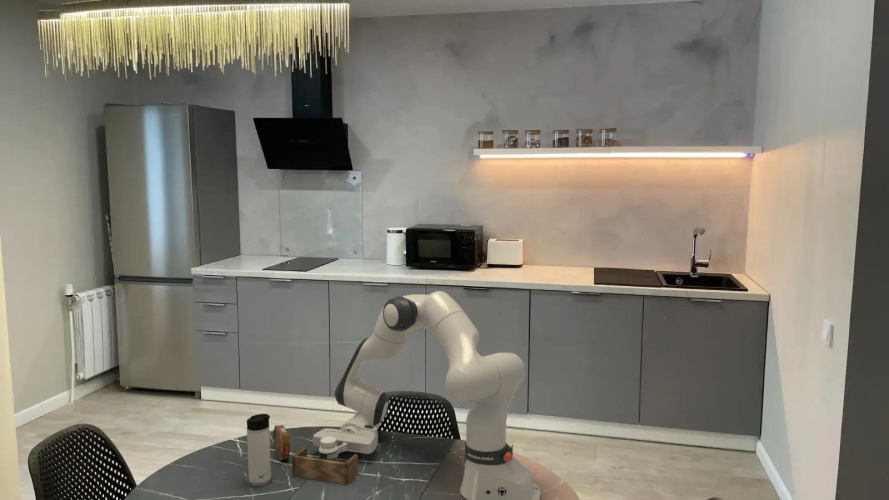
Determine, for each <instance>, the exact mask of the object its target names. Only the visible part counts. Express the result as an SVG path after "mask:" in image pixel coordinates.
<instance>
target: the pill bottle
mask: <svg viewBox="0 0 889 500" xmlns="http://www.w3.org/2000/svg"><path fill="white" fill-rule="evenodd" d="M320 444H321V446H320V447H318V459H323V460H330V461H337V462H339V454H338V447H337V446H336V445H335V444H336V438H334V437H324V438H322V439H321V440H320Z"/></svg>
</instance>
